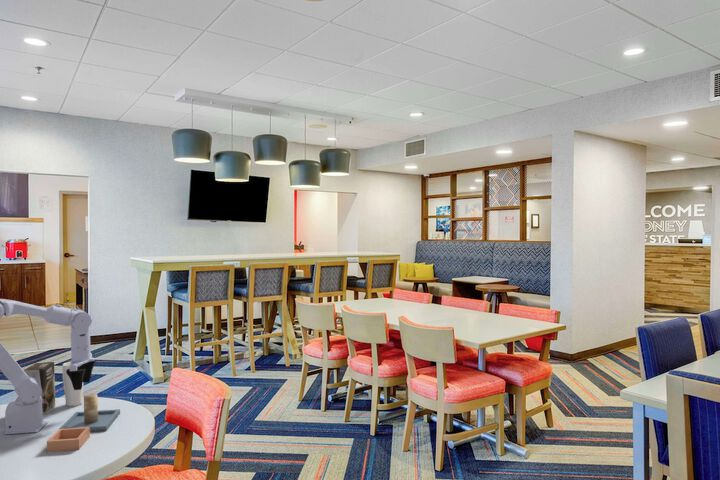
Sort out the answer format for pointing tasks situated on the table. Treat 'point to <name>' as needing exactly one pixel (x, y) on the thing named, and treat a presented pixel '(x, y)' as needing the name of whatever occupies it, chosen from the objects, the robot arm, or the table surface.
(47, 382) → the coffee box
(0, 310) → the robot arm
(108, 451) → the table surface
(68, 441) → the hollow square frame
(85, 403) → the maple peg
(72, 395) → the white cylindrical piece
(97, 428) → the slate tray
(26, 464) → the table surface
